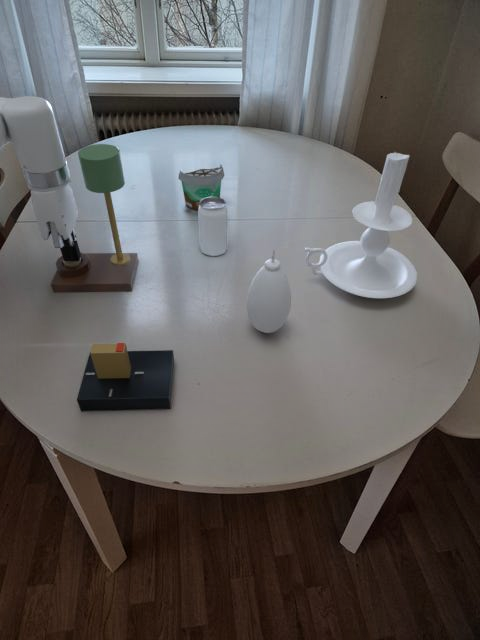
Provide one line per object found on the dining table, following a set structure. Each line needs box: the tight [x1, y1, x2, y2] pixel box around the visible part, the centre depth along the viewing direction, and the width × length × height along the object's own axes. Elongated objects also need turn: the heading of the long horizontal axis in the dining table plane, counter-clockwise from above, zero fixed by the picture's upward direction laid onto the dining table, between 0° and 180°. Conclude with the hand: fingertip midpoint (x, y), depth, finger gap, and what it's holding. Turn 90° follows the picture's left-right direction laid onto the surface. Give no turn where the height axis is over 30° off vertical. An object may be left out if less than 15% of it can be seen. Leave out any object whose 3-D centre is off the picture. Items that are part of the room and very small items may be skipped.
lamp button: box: [63, 257, 82, 267], centre depth 90 cm, size 4×4×2 cm
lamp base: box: [50, 251, 139, 293], centre depth 91 cm, size 16×11×4 cm
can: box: [197, 197, 228, 257], centre depth 97 cm, size 6×6×12 cm
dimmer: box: [76, 349, 175, 412], centre depth 70 cm, size 14×10×3 cm
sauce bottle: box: [246, 249, 292, 334], centre depth 76 cm, size 8×8×18 cm
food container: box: [178, 163, 225, 212], centre depth 112 cm, size 12×6×10 cm, turn 114°
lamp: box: [77, 143, 130, 266], centre depth 82 cm, size 7×7×23 cm
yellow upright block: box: [89, 342, 131, 379], centre depth 67 cm, size 5×2×6 cm, turn 93°
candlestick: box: [304, 151, 418, 299], centre depth 85 cm, size 21×25×28 cm
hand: (72, 258), depth 89 cm, fingers closed
